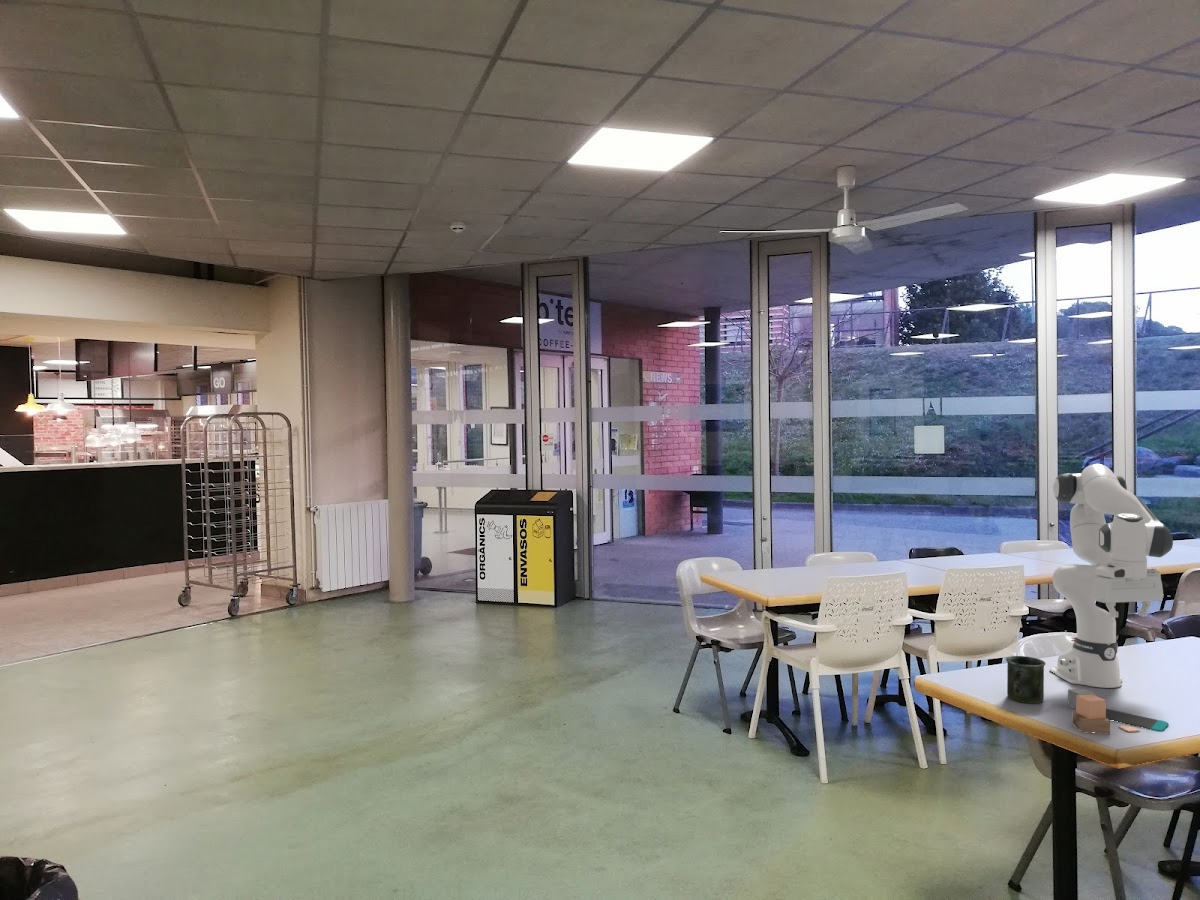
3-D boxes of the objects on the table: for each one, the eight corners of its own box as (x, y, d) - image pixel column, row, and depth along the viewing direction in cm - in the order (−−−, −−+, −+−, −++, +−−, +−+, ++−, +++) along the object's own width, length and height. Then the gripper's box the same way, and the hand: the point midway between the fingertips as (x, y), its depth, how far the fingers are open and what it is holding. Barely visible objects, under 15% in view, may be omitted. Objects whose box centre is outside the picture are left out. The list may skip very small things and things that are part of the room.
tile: (1118, 727, 225) (1118, 726, 225) (1129, 727, 225) (1129, 725, 225) (1128, 732, 221) (1128, 730, 221) (1139, 731, 222) (1139, 730, 222)
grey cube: (1068, 705, 244) (1068, 689, 244) (1083, 704, 244) (1083, 688, 244) (1080, 711, 239) (1080, 694, 239) (1095, 710, 239) (1095, 693, 239)
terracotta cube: (1076, 712, 226) (1076, 695, 226) (1092, 711, 227) (1092, 694, 227) (1089, 718, 222) (1089, 701, 221) (1105, 718, 222) (1105, 700, 222)
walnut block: (1072, 724, 228) (1072, 710, 228) (1098, 726, 227) (1099, 712, 227) (1082, 733, 221) (1082, 719, 221) (1110, 735, 220) (1110, 720, 220)
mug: (1049, 698, 250) (1049, 660, 250) (1036, 710, 240) (1036, 670, 240) (1012, 690, 258) (1012, 653, 258) (997, 701, 247) (997, 663, 247)
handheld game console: (1162, 734, 222) (1171, 723, 228) (1162, 731, 222) (1171, 720, 228) (1083, 717, 236) (1094, 707, 243) (1083, 713, 236) (1094, 703, 242)
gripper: (1151, 567, 239) (1150, 613, 239) (1089, 568, 236) (1089, 615, 236) (1169, 570, 233) (1168, 617, 233) (1106, 572, 230) (1105, 620, 230)
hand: (1128, 616), depth 235 cm, fingers open, 8 cm apart
